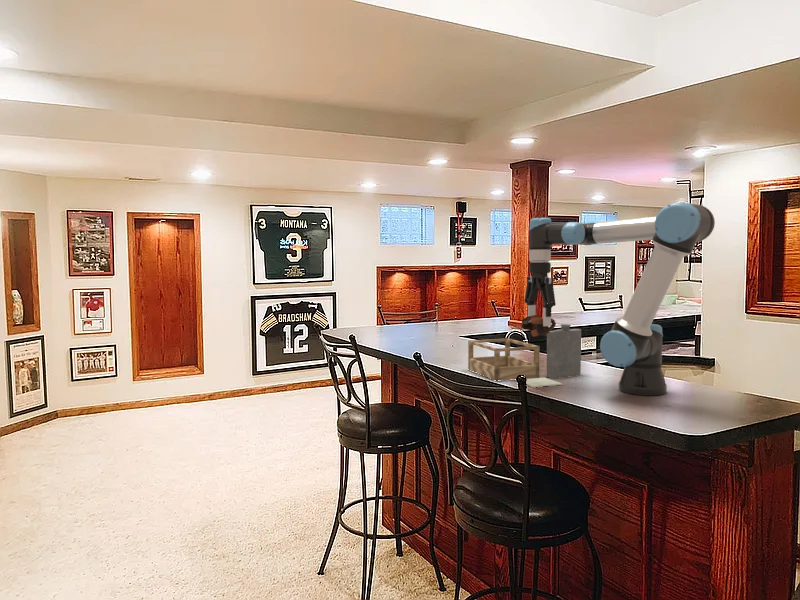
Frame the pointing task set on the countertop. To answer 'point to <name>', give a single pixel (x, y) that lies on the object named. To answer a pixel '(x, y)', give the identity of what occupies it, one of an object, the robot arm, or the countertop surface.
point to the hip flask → (564, 352)
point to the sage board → (541, 382)
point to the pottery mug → (537, 325)
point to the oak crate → (503, 361)
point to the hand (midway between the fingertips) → (539, 324)
